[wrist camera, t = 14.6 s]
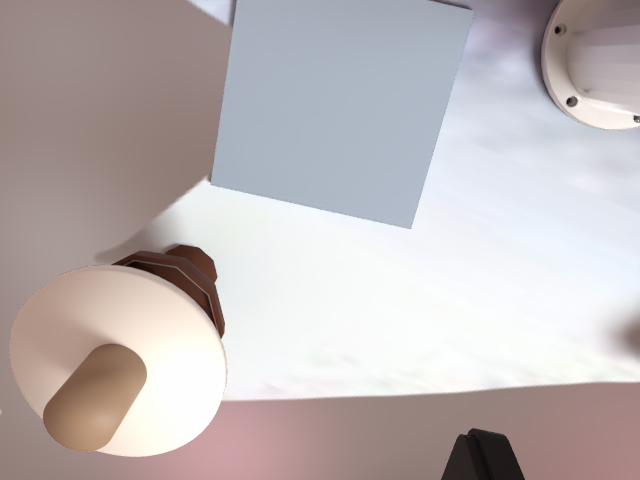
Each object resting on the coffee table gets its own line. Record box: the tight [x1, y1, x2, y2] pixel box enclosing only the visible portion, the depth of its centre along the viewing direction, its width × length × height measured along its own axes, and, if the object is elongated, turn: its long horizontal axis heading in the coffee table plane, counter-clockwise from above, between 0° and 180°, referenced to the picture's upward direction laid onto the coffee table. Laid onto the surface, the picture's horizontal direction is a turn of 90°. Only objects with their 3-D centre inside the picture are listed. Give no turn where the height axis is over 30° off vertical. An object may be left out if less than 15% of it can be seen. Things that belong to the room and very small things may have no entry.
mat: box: [210, 0, 475, 229], centre depth 42 cm, size 18×18×1 cm
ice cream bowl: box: [112, 245, 225, 338], centre depth 41 cm, size 11×11×15 cm
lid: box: [9, 265, 227, 457], centre depth 31 cm, size 14×14×6 cm
